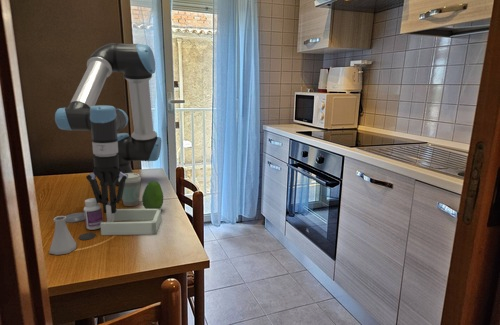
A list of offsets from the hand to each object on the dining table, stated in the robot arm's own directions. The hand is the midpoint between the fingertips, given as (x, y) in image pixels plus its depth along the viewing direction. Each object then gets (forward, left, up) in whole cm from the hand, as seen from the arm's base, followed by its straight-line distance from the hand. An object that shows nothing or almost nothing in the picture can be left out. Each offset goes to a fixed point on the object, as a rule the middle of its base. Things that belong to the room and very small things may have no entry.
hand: (110, 221), depth 112 cm
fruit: (-14, +12, -2) cm, 18 cm away
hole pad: (+7, -5, -2) cm, 9 cm away
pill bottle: (0, -5, -2) cm, 6 cm away
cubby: (0, +7, -2) cm, 7 cm away
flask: (+15, -9, -2) cm, 18 cm away
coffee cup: (-22, +2, -2) cm, 22 cm away
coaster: (-8, -14, -2) cm, 16 cm away
